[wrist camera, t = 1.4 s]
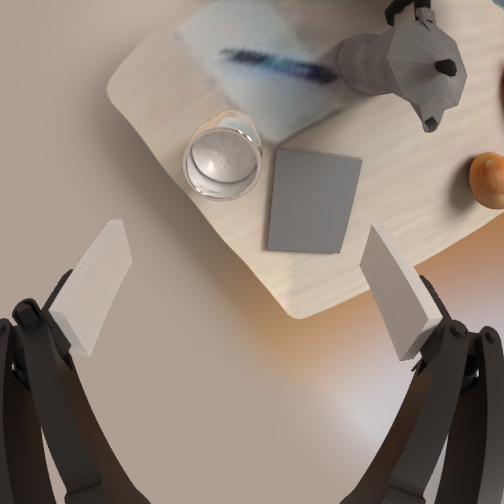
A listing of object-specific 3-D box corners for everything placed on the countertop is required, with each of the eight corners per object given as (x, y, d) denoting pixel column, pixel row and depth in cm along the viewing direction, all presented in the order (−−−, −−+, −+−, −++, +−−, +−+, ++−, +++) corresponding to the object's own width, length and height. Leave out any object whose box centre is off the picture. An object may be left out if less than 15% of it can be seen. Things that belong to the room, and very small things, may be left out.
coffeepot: (398, 111, 31) (484, 148, 16) (338, 108, 31) (405, 140, 17) (391, 13, 22) (476, -5, 7) (327, 4, 22) (387, -41, 8)
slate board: (276, 148, 35) (277, 150, 34) (359, 157, 35) (362, 160, 34) (266, 246, 44) (267, 250, 43) (337, 249, 45) (339, 253, 44)
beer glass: (229, 96, 31) (215, 107, 19) (269, 129, 34) (282, 163, 21) (195, 134, 34) (163, 171, 22) (234, 165, 37) (226, 218, 24)
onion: (497, 156, 32) (532, 178, 24) (480, 200, 38) (511, 227, 30) (470, 135, 31) (509, 156, 23) (452, 184, 37) (486, 213, 29)
